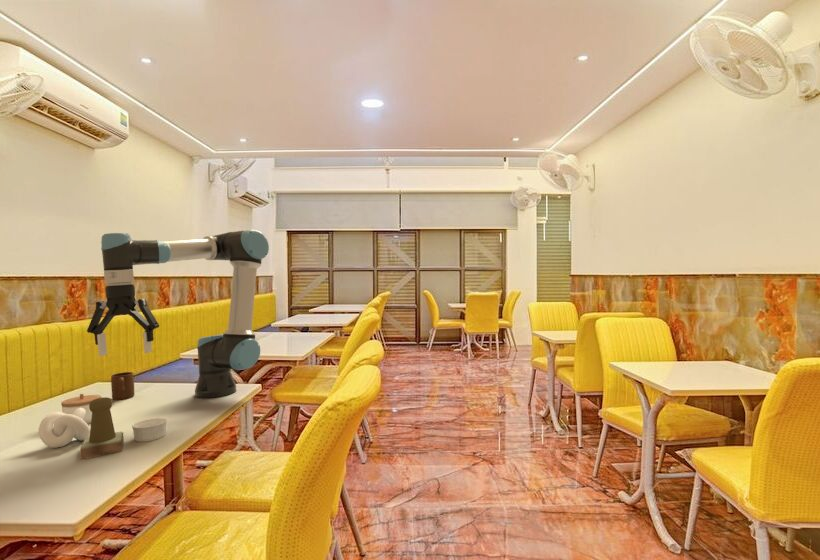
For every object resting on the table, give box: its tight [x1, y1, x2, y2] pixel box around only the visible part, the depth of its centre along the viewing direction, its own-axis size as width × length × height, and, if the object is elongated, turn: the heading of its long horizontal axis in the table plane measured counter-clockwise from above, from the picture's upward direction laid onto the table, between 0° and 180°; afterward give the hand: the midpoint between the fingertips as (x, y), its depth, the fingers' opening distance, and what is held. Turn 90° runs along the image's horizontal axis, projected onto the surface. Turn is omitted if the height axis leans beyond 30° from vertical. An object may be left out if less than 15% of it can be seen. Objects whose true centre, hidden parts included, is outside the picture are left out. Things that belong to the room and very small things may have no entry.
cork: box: [89, 397, 116, 443], centre depth 123 cm, size 6×6×11 cm
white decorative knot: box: [38, 408, 91, 449], centre depth 130 cm, size 11×12×9 cm
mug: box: [110, 371, 135, 401], centre depth 179 cm, size 12×8×9 cm, turn 29°
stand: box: [80, 430, 125, 460], centre depth 123 cm, size 9×9×3 cm
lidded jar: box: [61, 393, 103, 425], centre depth 149 cm, size 11×11×9 cm
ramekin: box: [131, 417, 168, 443], centre depth 132 cm, size 9×9×4 cm
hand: (125, 353), depth 139 cm, fingers open, 13 cm apart
